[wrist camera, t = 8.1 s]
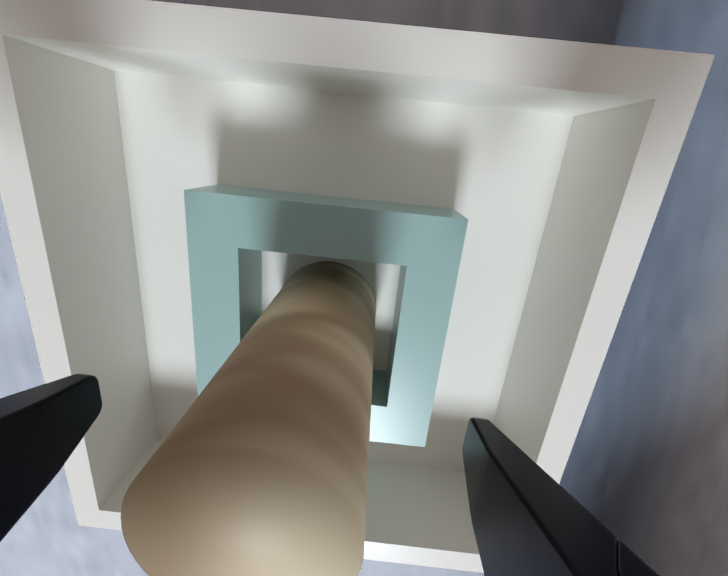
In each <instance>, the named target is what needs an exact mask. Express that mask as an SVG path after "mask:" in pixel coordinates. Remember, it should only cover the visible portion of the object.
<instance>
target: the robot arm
mask: <svg viewBox="0 0 728 576" xmlns="http://www.w3.org/2000/svg"><path fill="white" fill-rule="evenodd" d="M101 409H102V398H101V393H100V387H99V381H98V379H97V377H96V376H94V375H88V374H74V375H71V376H68V377H65V378H62V379H58V380H55V381H52V382H49V383H46V384H43V385H40V386H37V387H34V388H31V389H28V390H25V391H22V392H19V393H16V394H13V395H10V396H7V397H4V398H1V399H0V542H1V541H2V539H3V538H4V537H5V536H6V535H7V533H8V532H9V531H10V530H11V529H12V527H13V526H14V525H15V524H16V523H17V521H18V520H19V519H20V518H21V517H22V515H23V514H24V513H25V512H26V511H27V509H28V508H29V507H30V506H31V505H32V504H33V502H34V501H35V500H36V499H37V498H38V496H39V495H40V494H41V493H42V492H43V490H44V489H45V488H46V487H47V486H48V484H49V483H50V482H51V481H52V480H53V478H54V477H55V476H56V475H57V473H58V472H59V471H60V469H61V468H62V467H63V465H64V464H65V462H66V461H67V460H68V458H69V457H70V455H71V454H72V453H73V451H74V450H75V448H76V447H77V445H78V444H79V443H80V441H81V440H82V438H83V437H84V435H85V434H86V433H87V431H88V430H89V428H90V427H91V425H92V424H93V423H94V421H95V420H96V418H97V417H98V415H99V414H100V412H101ZM462 454H463V462H464V470H465V477H466V485H467V492H468V500H469V508H470V514H471V521H472V525H473V530H474V534H475V538H476V542H477V547H478V551H479V555H480V559H481V563H482V567H483V571H484V575H485V576H659V575H658V574H657V573H656V572H655V571H654V570H653V569H651V568H650V567H649V566H648V565H647V564H646V563H645V562H644V561H642V560H641V559H640V558H639V557H638V556H637V555H636V554H635V553H634V552H633V551H631V550H630V549H629V548H628V547H627V546H626V545H625V544H624V543H623V542H622V541H620V540H618V541H617V537H616V536H615V535H614V534H613V533H612V532H611V531H609V530H608V529H607V528H606V527H605V526H604V525H603V524H602V523H601V522H600V521H599V520H597V519H596V518H595V517H594V516H593V515H592V514H591V513H590V512H589V511H588V510H587V509H585V508H584V507H583V506H582V505H581V504H580V503H579V502H578V501H577V500H576V499H575V498H573V497H572V496H571V495H570V494H569V493H568V492H567V491H566V490H565V489H564V488H563V487H561V486H560V485H559V484H558V483H557V482H556V481H555V480H554V479H553V478H552V477H551V476H549V475H548V474H547V473H546V472H545V471H544V470H543V469H542V468H541V467H540V466H539V465H537V464H536V463H535V462H534V461H533V460H532V459H531V458H530V457H529V456H528V455H527V454H525V453H524V452H523V451H522V450H521V449H520V448H519V447H518V446H517V445H516V444H515V443H513V442H512V441H511V440H510V439H509V438H508V437H507V436H506V435H505V434H504V433H503V432H501V431H500V430H499V429H498V428H497V427H496V426H495V425H494V424H493V423H492V422H491V421H489V420H488V419H484V418H475V417H472V418H470V419H469V421H468V425H467V429H466V433H465V437H464V442H463V448H462Z"/></svg>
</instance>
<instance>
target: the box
mask: <svg viewBox="0 0 728 576" xmlns="http://www.w3.org/2000/svg"><path fill="white" fill-rule="evenodd" d="M714 56H715V55H710V54H700V53H690V52H679V51H669V50H659V49H648V48H638V47H627V46H617V45H607V44H596V43H586V42H576V41H565V40H555V39H545V38H534V37H524V36H514V35H503V34H493V33H482V32H472V31H462V30H451V29H441V28H431V27H420V26H410V25H400V24H389V23H379V22H369V21H358V20H348V19H337V18H327V17H317V16H306V15H296V14H286V13H275V12H265V11H255V10H244V9H234V8H224V7H213V6H203V5H192V4H182V3H172V2H161V1H151V0H0V194H1V198H2V202H3V207H4V211H5V215H6V220H7V224H8V228H9V232H10V237H11V241H12V245H13V249H14V254H15V258H16V262H17V267H18V271H19V275H20V279H21V284H22V288H23V292H24V296H25V301H26V305H27V309H28V313H29V318H30V322H31V326H32V331H33V335H34V339H35V343H36V348H37V352H38V356H39V360H40V365H41V369H42V373H43V378H44V382H45V384H46V383H49V382H52V381H55V380H58V379H62V378H65V377H68V376H71V375H74V374H88V375H94V376H96V377H97V379H98V381H99V387H100V393H101V398H102V409H101V412H100V414H99V415H98V417H97V418H96V420H95V421H94V423H93V424H92V425H91V427H90V428H89V430H88V431H87V433H86V434H85V435H84V437H83V438H82V440H81V441H80V443H79V444H78V445H77V447H76V448H75V450H74V451H73V453H72V454H71V455H70V457H69V458H68V460H67V461H66V462H65V464H64V467H65V471H66V476H67V480H68V484H69V489H70V493H71V497H72V501H73V506H74V510H75V514H76V518H77V523H78V526H87V527H95V528H104V529H113V530H121V531H122V527H121V507H122V502H123V499H124V496H125V493H126V491H127V489H128V488H129V486H130V484H131V482H132V481H133V480H134V479H135V477H136V476H137V475H138V473H139V472H140V471H141V470H142V468H143V467H144V466H145V464H146V463H147V462H148V461H149V459H150V458H151V457H152V455H153V454H154V453H155V451H156V450H157V449H158V448H159V446H160V445H161V444H162V442H163V441H164V440H165V439H166V437H167V436H168V435H169V433H170V432H171V431H172V430H173V428H174V427H175V426H176V424H177V423H178V422H179V420H180V419H181V418H182V417H183V415H184V414H185V413H186V411H187V410H188V409H189V408H190V406H191V405H192V404H193V402H194V401H195V400H196V399H197V397H198V396H199V395H200V393H201V392H202V391H203V389H204V388H205V387H206V386H207V384H208V383H209V382H210V380H211V379H212V378H213V377H214V375H215V374H216V373H217V371H218V370H219V369H220V368H221V366H222V365H223V364H224V362H225V361H226V360H227V358H228V357H229V356H230V355H231V353H232V352H233V351H234V349H235V348H236V347H237V346H238V344H239V343H240V342H241V340H242V339H243V338H244V337H245V335H246V334H247V333H248V331H249V330H250V329H251V327H252V326H253V325H254V324H255V322H256V321H257V320H258V318H259V317H260V316H261V315H262V313H263V312H264V311H265V309H266V308H267V307H268V306H269V304H270V303H271V302H272V300H273V299H274V298H275V296H276V295H277V294H278V293H279V291H280V290H281V289H282V287H283V286H284V285H285V284H286V282H287V281H288V280H289V278H290V277H291V276H292V275H293V274H294V273H295V272H296V271H297V270H299V269H300V268H302V267H304V266H306V265H308V264H311V263H315V262H321V261H332V262H338V263H341V264H344V265H347V266H349V267H351V268H352V269H354V270H356V271H357V272H358V273H359V274H361V275H362V276H363V277H364V278H365V280H366V281H367V282H368V284H369V285H370V287H371V289H372V291H373V294H374V297H375V302H376V316H375V337H374V357H373V377H372V398H371V418H370V439H369V459H368V480H367V500H366V520H365V541H364V558H363V559H369V560H377V561H386V562H394V563H403V564H411V565H420V566H429V567H437V568H446V569H454V570H463V571H471V572H480V573H484V571H483V567H482V563H481V559H480V555H479V551H478V547H477V542H476V538H475V534H474V530H473V525H472V521H471V514H470V508H469V500H468V492H467V485H466V477H465V470H464V462H463V454H462V448H463V442H464V437H465V433H466V429H467V425H468V421H469V419H470V418H472V417H475V418H484V419H488V420H489V421H491V422H492V423H493V424H494V425H495V426H496V427H497V428H498V429H499V430H500V431H501V432H503V433H504V434H505V435H506V436H507V437H508V438H509V439H510V440H511V441H512V442H513V443H515V444H516V445H517V446H518V447H519V448H520V449H521V450H522V451H523V452H524V453H525V454H527V455H528V456H529V457H530V458H531V459H532V460H533V461H534V462H535V463H536V464H537V465H539V466H540V467H541V468H542V469H543V470H544V471H545V472H546V473H547V474H548V475H549V476H551V477H552V478H553V479H554V480H555V481H556V482H557V483H558V484H559V483H560V480H561V477H562V474H563V472H564V469H565V466H566V463H567V461H568V458H569V455H570V452H571V450H572V447H573V444H574V441H575V439H576V436H577V433H578V430H579V428H580V425H581V422H582V419H583V417H584V414H585V411H586V408H587V406H588V403H589V400H590V397H591V395H592V392H593V389H594V386H595V384H596V381H597V378H598V375H599V373H600V370H601V367H602V364H603V362H604V359H605V356H606V353H607V351H608V348H609V345H610V342H611V340H612V337H613V334H614V331H615V329H616V326H617V323H618V320H619V318H620V315H621V312H622V309H623V307H624V304H625V301H626V298H627V296H628V293H629V290H630V287H631V285H632V282H633V279H634V276H635V274H636V271H637V268H638V265H639V263H640V260H641V257H642V254H643V252H644V249H645V246H646V243H647V241H648V238H649V235H650V232H651V230H652V227H653V224H654V221H655V219H656V216H657V213H658V210H659V208H660V205H661V202H662V199H663V196H664V194H665V191H666V188H667V185H668V183H669V180H670V177H671V174H672V172H673V169H674V166H675V163H676V161H677V158H678V155H679V152H680V150H681V147H682V144H683V141H684V139H685V136H686V133H687V130H688V128H689V125H690V122H691V119H692V117H693V114H694V111H695V108H696V106H697V103H698V100H699V97H700V95H701V92H702V89H703V86H704V84H705V81H706V78H707V75H708V73H709V70H710V67H711V64H712V62H713V59H714Z"/></svg>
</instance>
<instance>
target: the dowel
mask: <svg viewBox="0 0 728 576" xmlns="http://www.w3.org/2000/svg"><path fill="white" fill-rule="evenodd" d="M375 316H376V302H375V297H374V294H373V291H372V289H371V287H370V285H369V284H368V282H367V281H366V280H365V278H364V277H363V276H362V275H361V274H359V273H358V272H357V271H356V270H354V269H352V268H351V267H349V266H347V265H344V264H341V263H338V262H332V261H321V262H315V263H311V264H308V265H306V266H304V267H302V268H300V269H299V270H297V271H296V272H295V273H294V274H293V275H292V276H291V277H290V278H289V280H288V281H287V282H286V284H285V285H284V286H283V287H282V289H281V290H280V291H279V293H278V294H277V295H276V296H275V298H274V299H273V300H272V302H271V303H270V304H269V306H268V307H267V308H266V309H265V311H264V312H263V313H262V315H261V316H260V317H259V318H258V320H257V321H256V322H255V324H254V325H253V326H252V327H251V329H250V330H249V331H248V333H247V334H246V335H245V337H244V338H243V339H242V340H241V342H240V343H239V344H238V346H237V347H236V348H235V349H234V351H233V352H232V353H231V355H230V356H229V357H228V358H227V360H226V361H225V362H224V364H223V365H222V366H221V368H220V369H219V370H218V371H217V373H216V374H215V375H214V377H213V378H212V379H211V380H210V382H209V383H208V384H207V386H206V387H205V388H204V389H203V391H202V392H201V393H200V395H199V396H198V397H197V399H196V400H195V401H194V402H193V404H192V405H191V406H190V408H189V409H188V410H187V411H186V413H185V414H184V415H183V417H182V418H181V419H180V420H179V422H178V423H177V424H176V426H175V427H174V428H173V430H172V431H171V432H170V433H169V435H168V436H167V437H166V439H165V440H164V441H163V442H162V444H161V445H160V446H159V448H158V449H157V450H156V451H155V453H154V454H153V455H152V457H151V458H150V459H149V461H148V462H147V463H146V464H145V466H144V467H143V468H142V470H141V471H140V472H139V473H138V475H137V476H136V477H135V479H134V480H133V481H132V482H131V484H130V486H129V488H128V489H127V491H126V493H125V496H124V499H123V502H122V507H121V527H122V531H123V535H124V539H125V541H126V544H127V546H128V548H129V550H130V552H131V554H132V555H133V557H134V559H135V560H136V562H137V563H138V564H139V565H140V567H141V568H142V569H143V570H144V571H145V572H146V573H147V574H148V575H149V576H358V573H359V571H360V569H361V566H362V562H363V558H364V541H365V520H366V500H367V480H368V459H369V439H370V418H371V398H372V377H373V357H374V337H375Z"/></svg>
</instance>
